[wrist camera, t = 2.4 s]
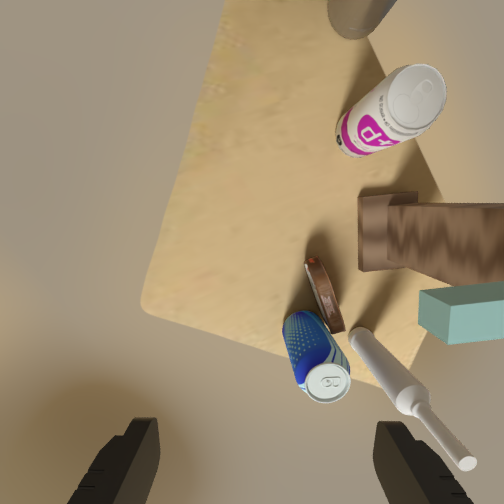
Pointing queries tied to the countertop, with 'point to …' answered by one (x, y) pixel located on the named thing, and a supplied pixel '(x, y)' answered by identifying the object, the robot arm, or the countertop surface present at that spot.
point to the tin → (324, 295)
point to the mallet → (463, 312)
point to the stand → (432, 238)
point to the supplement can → (393, 111)
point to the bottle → (407, 393)
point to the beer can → (316, 357)
